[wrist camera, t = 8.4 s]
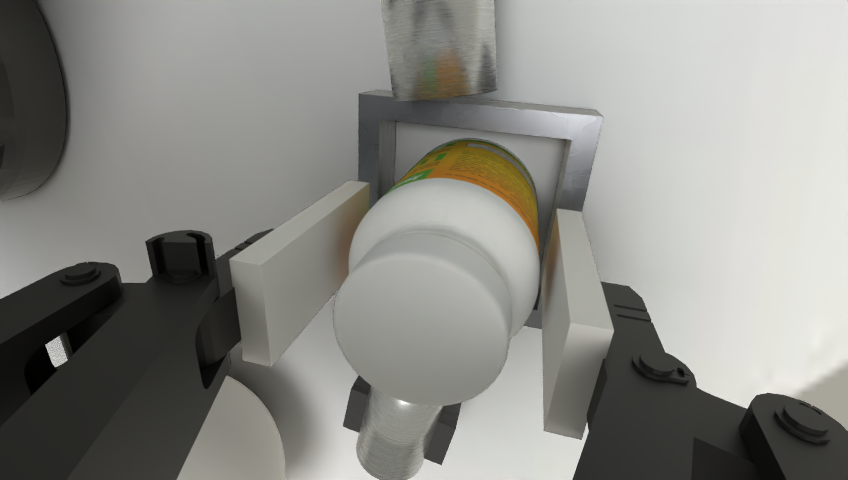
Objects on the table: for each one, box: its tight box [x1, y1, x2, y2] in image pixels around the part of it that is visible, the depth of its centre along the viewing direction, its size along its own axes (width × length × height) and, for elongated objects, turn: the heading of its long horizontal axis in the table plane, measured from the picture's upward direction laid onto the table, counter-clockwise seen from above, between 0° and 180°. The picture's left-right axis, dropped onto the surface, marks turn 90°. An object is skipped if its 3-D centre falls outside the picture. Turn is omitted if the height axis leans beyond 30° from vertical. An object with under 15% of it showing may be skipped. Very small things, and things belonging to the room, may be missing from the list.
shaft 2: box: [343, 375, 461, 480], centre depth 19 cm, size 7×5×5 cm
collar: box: [359, 90, 603, 329], centre depth 17 cm, size 8×8×2 cm
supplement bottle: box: [333, 138, 540, 406], centre depth 14 cm, size 5×5×10 cm
